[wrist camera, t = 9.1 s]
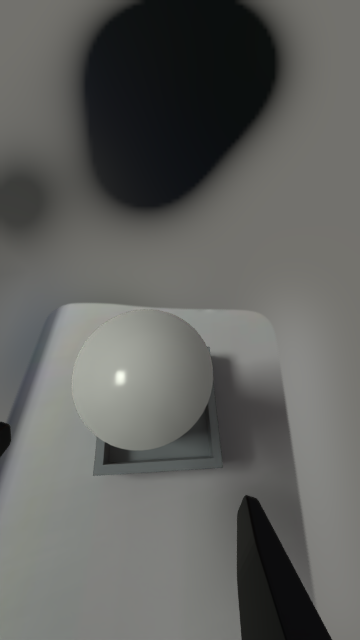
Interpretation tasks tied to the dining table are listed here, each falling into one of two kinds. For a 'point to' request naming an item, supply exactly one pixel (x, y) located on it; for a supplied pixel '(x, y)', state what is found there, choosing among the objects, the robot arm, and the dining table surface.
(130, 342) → the brown cylinder grey top
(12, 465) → the dining table surface
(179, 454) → the tray
